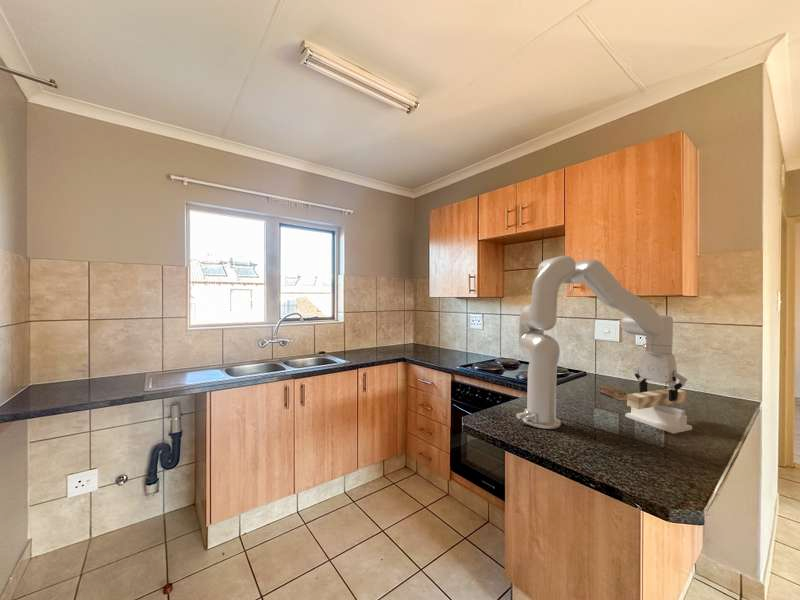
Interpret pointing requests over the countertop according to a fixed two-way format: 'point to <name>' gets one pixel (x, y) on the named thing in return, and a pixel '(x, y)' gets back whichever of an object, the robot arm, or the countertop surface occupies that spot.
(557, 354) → the robot arm
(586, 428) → the countertop surface
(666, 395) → the birch rod
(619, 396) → the wooden fragment
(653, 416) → the ridge stand
